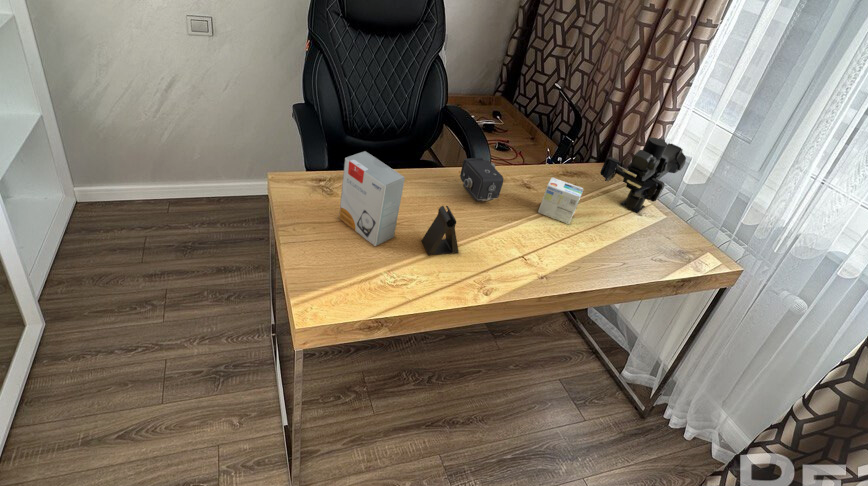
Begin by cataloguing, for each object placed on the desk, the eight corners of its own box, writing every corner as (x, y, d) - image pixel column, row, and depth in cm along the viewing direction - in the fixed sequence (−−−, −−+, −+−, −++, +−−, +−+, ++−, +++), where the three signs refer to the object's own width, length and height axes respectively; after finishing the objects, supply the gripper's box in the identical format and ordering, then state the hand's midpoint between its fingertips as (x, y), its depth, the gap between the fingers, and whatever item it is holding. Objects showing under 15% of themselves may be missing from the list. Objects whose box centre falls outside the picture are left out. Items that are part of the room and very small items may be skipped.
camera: (499, 207, 164) (478, 179, 174) (511, 180, 157) (488, 151, 167) (471, 211, 160) (450, 181, 170) (481, 182, 153) (460, 153, 162)
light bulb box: (573, 215, 166) (584, 187, 160) (569, 225, 161) (581, 197, 155) (541, 203, 169) (551, 175, 163) (536, 213, 164) (547, 184, 157)
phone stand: (427, 255, 137) (435, 219, 130) (421, 241, 141) (428, 205, 135) (458, 253, 140) (468, 218, 133) (451, 239, 144) (460, 205, 137)
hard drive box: (337, 218, 143) (343, 157, 132) (358, 210, 148) (365, 149, 137) (375, 247, 136) (384, 184, 124) (395, 237, 141) (406, 176, 130)
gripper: (624, 137, 162) (601, 149, 152) (681, 163, 152) (661, 178, 142) (611, 167, 168) (588, 181, 158) (664, 194, 159) (644, 210, 149)
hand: (619, 186), depth 152 cm, fingers open, 9 cm apart
